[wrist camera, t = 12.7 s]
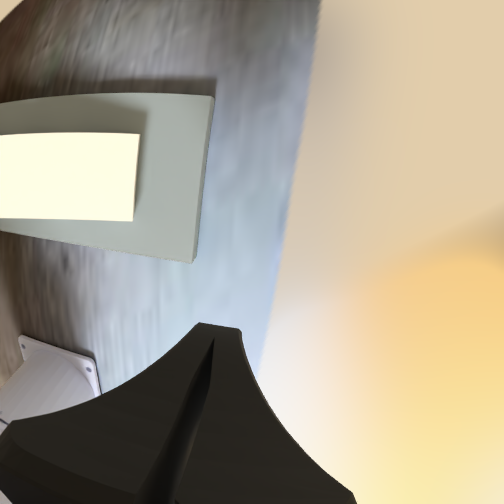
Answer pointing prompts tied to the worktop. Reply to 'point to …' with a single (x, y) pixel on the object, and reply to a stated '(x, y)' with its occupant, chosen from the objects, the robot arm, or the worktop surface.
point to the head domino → (69, 176)
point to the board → (148, 170)
